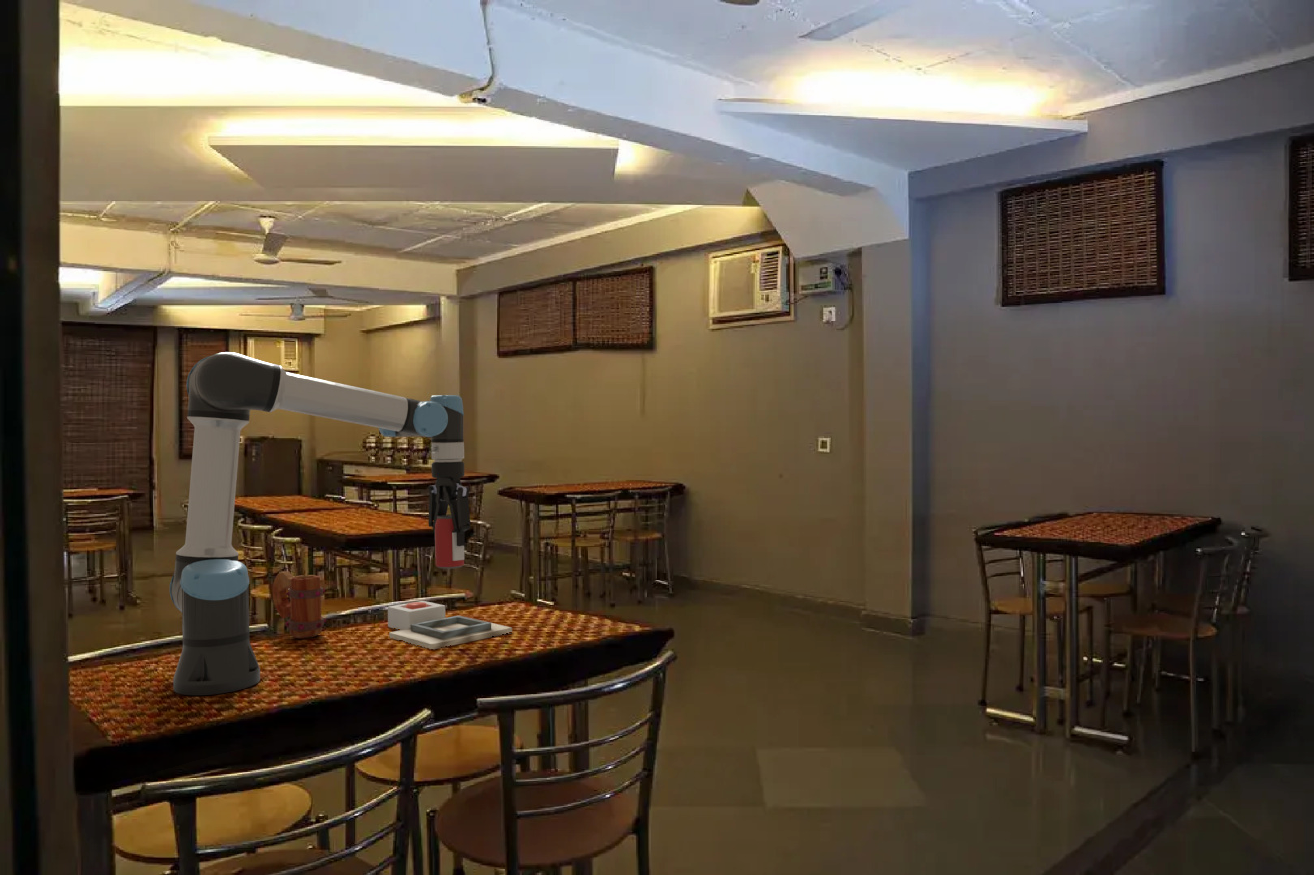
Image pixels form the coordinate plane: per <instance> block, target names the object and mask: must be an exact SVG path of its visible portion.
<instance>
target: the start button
mask: <svg viewBox="0 0 1314 875" xmlns="http://www.w3.org/2000/svg"><path fill="white" fill-rule="evenodd" d="M413 602H414V603H413ZM413 602H408V604H407V603H405V604H406V608H408V609H418V608H424V607H426V603H424V602H419V601H413Z"/></svg>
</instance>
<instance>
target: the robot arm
mask: <svg viewBox="0 0 1314 875" xmlns="http://www.w3.org/2000/svg"><path fill="white" fill-rule="evenodd" d="M186 389H187V390H186V392H187V395H188V401H187V402H188V404H187V416H186V418H187V420H188V421H190V423H191V424H192V425H193V427H194V432H193V433H194V434H193V445H192V457H191V469H190V482H189V495H188V505H187V516H186V518H187V520H186V528H185V529H186V530H185V540H184V541H185V542H184V544H183V546H181V547H180V548H179V549H178V550H177V551H176V552H175V562H174V573H173V575H172V577H171V580H170V583H169V596H170V599H171V601H172V603H173V604H174V606H175V608H176V609H177V610H178V611H180V613H181V617H182V618H181V621H182V623H181V624H182V626H181V628H182V650H181V653H180V656H179V660H178V662H177V665H176V670H175V672H174V675H173V680H172V681H173V682H172V684H173V685H172V686H173V692H175V693H176V694H177V695H178V694H179V695H185V696H210V695H212V696H213V695H219V694H221V695H222V694H225V693H226V694H227V693H231V692H237V691H240V690H243V689H246V688H250V687H252V686H254V685H257V684H258V683H259V682H260V681H261V669H260V665H259V663H258V660H257V658H256V655H255V653H254V650H253V648H252V645H251V641H250V607H249V605H250V604H249V602H250V601H249V600H250V599H249V598H250V597H249V584H250V578H249V574H248V573H249V571H248V568H247V566H246V565H245V564H244V563H243V562H242V561H239V552H238V551H237V550H236V549H235V548H234V547H233V545H232V544H233V543H232V541H233V528H234V527H233V526H234V517H235V516H234V515H235V503H236V493H237V492H236V491H237V490H236V489H237V477H238V465H239V452H240V443H241V442H240V439H241V431H242V429H243V428H244V427H246V426H247V425H248V424H250V416H251V411H254V410H255V411H261V412H267V413H272V412H274V411H276V410H282V411H283V410H284V411H288V412H294V413H299V414H305V415H310V416H314V417H320V418H324V419H331V420H336V421H341V422H345V423H352V424H358V425H361V426H368V427H373V428H378V431H379V433H380V435H382V436H383V437H389V438H390V437H392V438H397V437H398V438H399V437H401V438H402V437H406V438H407V437H408V438H409V437H426V438H430V443H431V448H430V451H431V460H432V463H431V477H432V478H433V479H436V480H435V484H434V485H428V489H427V490H428V495H429V496H428V498H429V499H428V527H431V528H432V530H433V531H434V532H435V523H436V520H437V516H441V515H448V514H447V513H448V509H449V511H450V515H451V517H452V521H453V526H454V530H453V531H452V549H453V561H457V560H464V561H465V544H466V543H465V542H466V541H465V540H466V539H465V533H466V531H469V530H471V513H470V503H469V502H470V500H469V496H470V495H469V494H470V487H469V486H463V485H462V482H461V478H464V476H465V462H464V461H462V460H463V459H465V443H464V442H465V441H464V416H465V413H464V404H463V399H462V397H461V396H460V395H455V394H439V395H438V394H437V395H431V397H430V398H429V400H426V401H424V400H423V401H422V400H419V399H414V398H408V397H405V396H400V395H396V394H391V393H386V392H381V391H376V390H373V389H367V388H362V387H358V386H353V385H349V384H345V383H344V384H343V383H339V382H334V381H330V380H324V379H320V378H316V377H311V376H307V375H301V374H298V373H297V374H296V373H292V372H289V371H285V369H284V368H283V366H282V365H280V364H276V363H270V362H269V361H268V362H266V361H264V360H260V359H257V358H253V357H250V356H247V355H244V354H242V353H237V352H230V351H225V352H219V353H215V354H211V355H209V356H206V357H204V358H202V359H200V360H199V361H197V363H195V364H194V366H192V368H191V370H190V371H189V373H188V375H187V379H186ZM458 526H459V527H458ZM434 556H435V557H434V559H436V554H435V555H434Z"/></svg>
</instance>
